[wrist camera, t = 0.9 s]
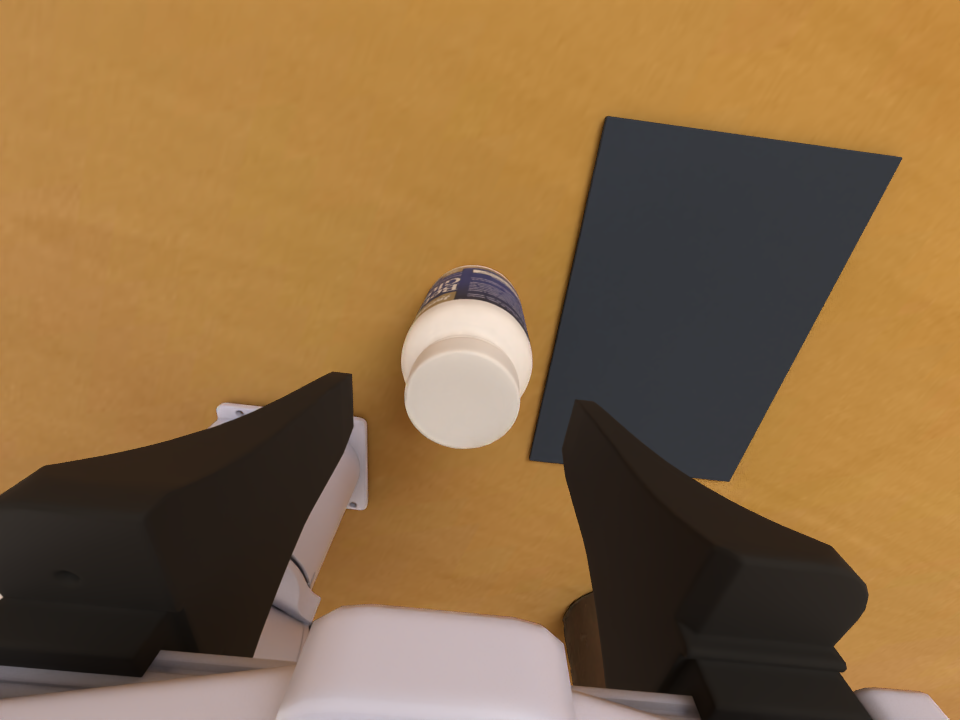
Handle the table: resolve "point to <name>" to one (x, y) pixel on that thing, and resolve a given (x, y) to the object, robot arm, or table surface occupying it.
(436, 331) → the pill bottle
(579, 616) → the pillar candle
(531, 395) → the table surface
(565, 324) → the felt mat
